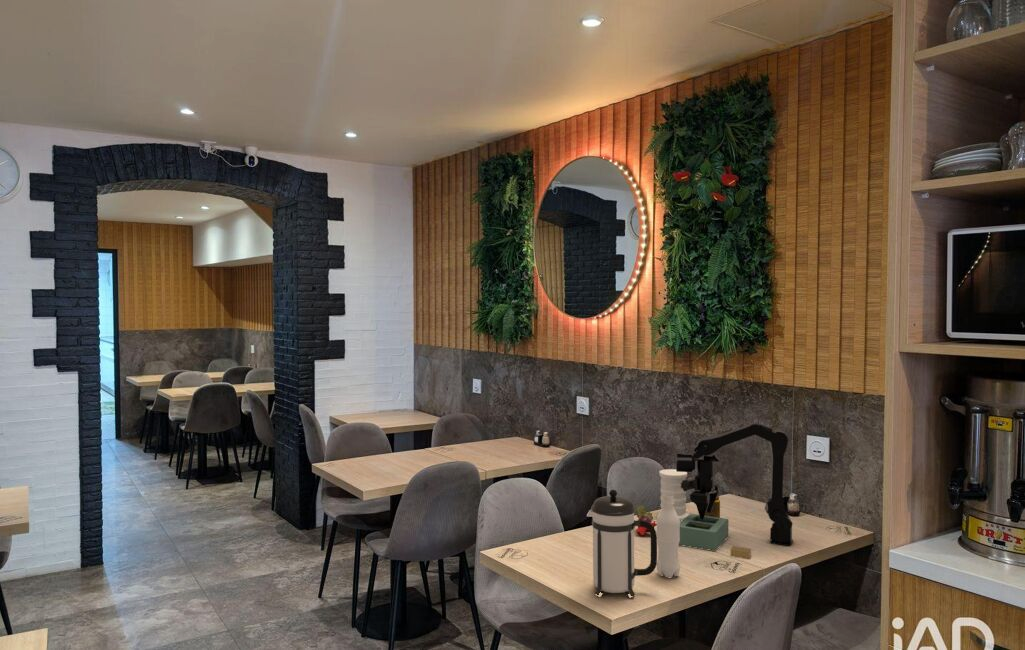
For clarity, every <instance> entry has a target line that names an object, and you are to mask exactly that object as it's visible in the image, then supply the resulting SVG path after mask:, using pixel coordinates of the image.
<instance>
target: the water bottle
mask: <svg viewBox="0 0 1025 650" xmlns="http://www.w3.org/2000/svg"><path fill="white" fill-rule="evenodd" d="M662 503H663V507H662V509H660V511H659V512H660V513H659V512H658V515H657V517H656V521H655V522H656V524H657V526H656V535H657V550H658V552H657V564H656V571H657V573H658V575H659V574H660V575H663V576H664V577H665V578H666V577H671V578H673V577H674V576H677V577H678V576H679V575H680V571H681V563H680V559H679V546H680V545H679V541H680V522H681V521H680V520H679V517H678V515H677V513H676V511H675V509H674V506H673V504H674V502H673V495H671V494H664V495H663V502H662ZM660 575H659V576H660ZM673 575H674V576H673Z"/></svg>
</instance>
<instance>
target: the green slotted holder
mask: <svg viewBox="0 0 1025 650" xmlns="http://www.w3.org/2000/svg"><path fill="white" fill-rule="evenodd" d="M696 525H699V526H706V527H711V528H710V529H709V530H707V529H700V528H696ZM727 537H728V538H729V518H725V517H720V518H719V517H712V516H704V519H700V516H699V513H697V514H696V513H689V514H688V516H687V517H686V518H684V519H683V520H682V521H680V541H679V545H678V546H681V545H685V546H684V547H687V546H691V547H690V548H693V547H697V548H696V549H699V548H703V549H702V550H705V549H710V550H715V551H714V552H717V550H718V549H719V548H720V547H721V546H722V544H723V543H725V541H726V540H727V539H728V538H727ZM726 538H727V539H726ZM725 539H726V540H725ZM720 545H721V546H720ZM719 546H720V547H719ZM718 547H719V548H718ZM717 548H718V549H717ZM716 549H717V550H716ZM710 550H709V551H710Z"/></svg>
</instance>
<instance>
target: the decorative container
mask: <svg viewBox="0 0 1025 650" xmlns="http://www.w3.org/2000/svg"><path fill="white" fill-rule="evenodd" d="M659 477H660V480H659V483H660V488H659V491H660V496H659V497H660V501H661V502H660V506H659V507H660V508H661V509H662V507H663V503H662V502H663V495H664V494H671V495H673V502H674V504H673V506H674V509H675V511H676V513H677V515H678V517H679V520H683V519H684V518H686V517H687V516H688V515H689V514H688V513H687V504H686V503H687V496H686V495H687V491H683V488H681V483H682V481H683V480H686V478H687V477H688V472H676V468H675V469H674V468H672V469H670V468H668V469H667V468H666V469H661V470H659ZM661 509H660V510H661ZM659 513H660V511H658V514H659Z"/></svg>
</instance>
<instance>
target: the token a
mask: <svg viewBox="0 0 1025 650" xmlns="http://www.w3.org/2000/svg"><path fill="white" fill-rule="evenodd" d="M696 528H700V529H707V530H709V529H710V528H711V527H706V526H699V525H696Z"/></svg>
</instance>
